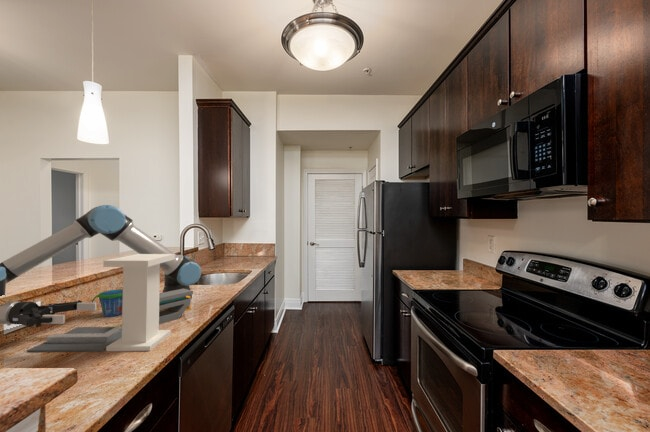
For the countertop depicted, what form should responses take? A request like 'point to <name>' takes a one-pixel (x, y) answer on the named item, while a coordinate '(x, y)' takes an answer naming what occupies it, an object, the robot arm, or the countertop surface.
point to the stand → (140, 301)
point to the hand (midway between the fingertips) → (81, 312)
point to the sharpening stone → (173, 304)
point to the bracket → (85, 337)
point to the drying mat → (77, 346)
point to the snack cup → (111, 302)
